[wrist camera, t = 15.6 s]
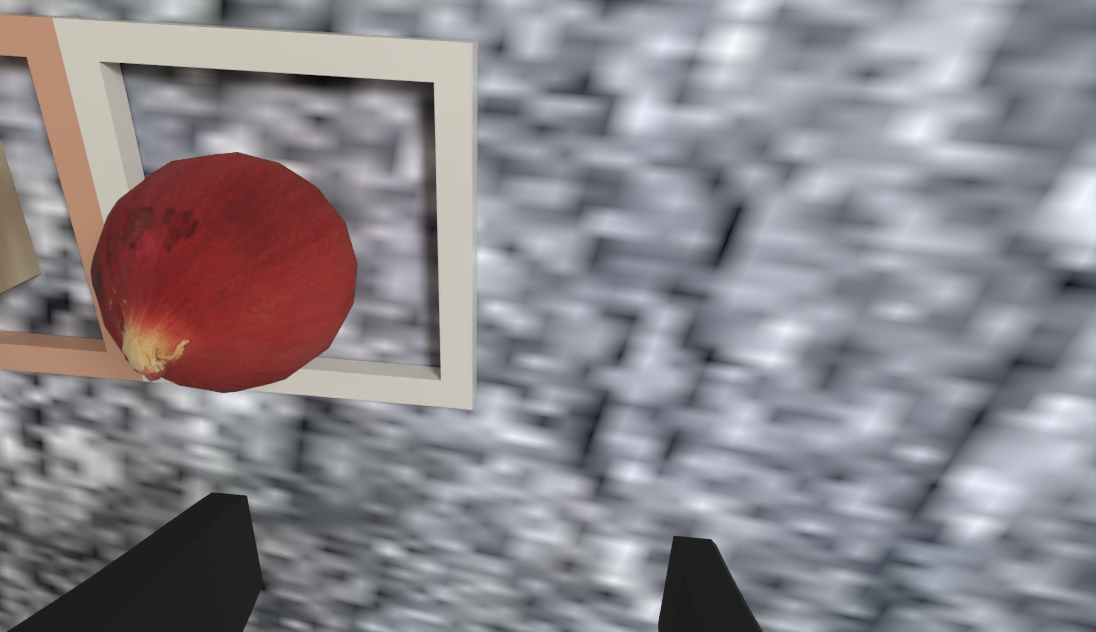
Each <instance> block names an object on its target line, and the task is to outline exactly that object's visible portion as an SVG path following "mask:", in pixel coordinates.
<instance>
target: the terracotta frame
mask: <svg viewBox="0 0 1096 632" xmlns="http://www.w3.org/2000/svg"><path fill="white" fill-rule="evenodd" d="M52 18H65V17H63V16H46V15H29V14H13V13H0V55H5V56H21V57H27V60H28V64H29V68H30V71H31V75H32V79H33V82H34V86H35V90H36V93H37V97H38V101H39V104H40V108H41V112H42V115H43V119H44V123H45V126H46V130H47V134H48V137H49V141H50V145H51V148H52V152H53V156H54V159H55V163H56V167H57V170H58V174H59V178H60V181H61V185H62V189H63V192H64V196H65V200H66V203H67V207H68V211H69V214H70V218H71V222H72V225H73V229H74V233H75V236H76V240H77V244H78V247H79V251H80V255H81V258H82V262H83V266H84V269H85V273H86V277H87V280H88V284H89V288H90V291H91V295H92V299H93V302H94V306H95V310H96V313H97V317H98V321H99V324H100V328H101V332H102V335H103V339H93V338H81V337H69V336H57V335H45V334H33V333H21V332H9V331H0V369H7V370H18V371H30V372H42V373H53V374H65V375H76V376H88V377H100V378H111V379H123V380H134V381H143V377H142V374H140V373H138V372H136V371H135V370H134V369H133V368H132V366H131V365H130V364H129V363H128V361H127V360H126V359H125V356H124V354H123V353H122V352H121V350H120V349H119V347H118V346H117V344H116V343H115V341H114V340H113V338H112V337H111V335H110V334H109V332H108V331H107V329H106V328H105V326H104V323H103V319H102V315H101V312H100V308H99V304H98V301H97V297H96V294H95V291H94V288H93V285H92V279H91V272H90V270H91V265H92V260H93V255H94V253H95V250H96V247H97V244H98V241H99V238H100V235H101V232H102V230H103V227H104V222H103V218H102V214H101V210H100V206H99V202H98V198H97V194H96V190H95V186H94V182H93V178H92V174H91V170H90V166H89V162H88V158H87V154H86V150H85V146H84V142H83V138H82V134H81V130H80V126H79V122H78V118H77V114H76V111H75V107H74V103H73V99H72V95H71V91H70V87H69V83H68V79H67V75H66V71H65V67H64V63H63V59H62V55H61V51H60V47H59V43H58V39H57V35H56V31H55V27H54V23H53V19H52Z"/></svg>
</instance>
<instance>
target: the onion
mask: <svg viewBox="0 0 1096 632" xmlns="http://www.w3.org/2000/svg"><path fill="white" fill-rule="evenodd" d="M90 272H91V279H92V285H93V288H94V291H95V294H96V297H97V301H98V304H99V308H100V312H101V315H102V319H103V323H104V326H105V328H106V329H107V331H108V332H109V334H110V335H111V337H112V338H113V340H114V341H115V343H116V344H117V346H118V347H119V349H120V350H121V352H122V353H123V354H124V356H125V359H126V360H127V361H128V363H129V364H130V365H131V366H132V368H133V369H134V370H135V371H136V372H138V373H140V374H142V375H144V376H145V377H146V378H147V379H148V380H149V381H150V382H151V381H155V380H159V379H160V378H164V379H166V380H168V381H170V382H173V383H175V384H177V385H180V386H186V387H192V388H198V389H204V390H210V391H215V392H220V393H228V392H237V391H241V390H246V389H250V388H255V387H259V386H264V385H268V384H272V383H275V382H279V381H282V380H285V379H287V378H288V377H289V376H291V375H292V374H294V373H295V372H296V371H298V370H299V369H301V368H302V367H303V366H305V365H306V364H308V363H309V362H310V361H312V360H313V359H315V358H316V357H317V356H319V355H320V354H321V353H323V352H324V351H326V350H327V349H328V348H329V347H330V345H331V343H332V342H333V340H334V338H335V336H336V335H337V333H338V331H339V329H340V328H341V326H342V324H343V322H344V321H345V319H346V317H347V315H348V313H349V311H350V309H351V307H352V305H353V303H354V295H355V285H356V274H357V261H356V257H355V254H354V250H353V247H352V243H351V240H350V237H349V233H348V230H347V226H346V223H345V221H344V220H343V219H342V218H341V216H340V215H339V214H338V213H337V211H336V210H335V209H334V208H333V207H332V205H331V204H330V203H329V202H328V200H327V199H326V198H325V197H324V195H323V194H322V192H321V191H320V190H319V189H318V188H317V187H316V186H314V185H313V184H311V183H310V182H308V181H307V180H305V179H304V178H302V177H301V176H299V175H297V174H296V173H294V172H293V171H291V170H290V169H288V168H286V167H285V166H283V165H282V164H280V163H277V162H273V161H270V160H266V159H262V158H258V157H254V156H250V155H246V154H242V153H239V152H234V153H224V154H215V155H208V156H202V157H195V158H189V159H182V160H175V161H171V162H169V163H168V164H166V165H165V166H163V167H161V168H160V169H158V170H157V171H155V172H153V173H152V174H151V175H149V176H148V177H147V178H146V179H144V180H143V181H142V182H140V183H139V184H138V185H136V186H135V187H134V188H133V189H131V190H130V191H129V192H127V193H126V194H125V195H124V196H122V197H121V198H120V199H118V200H117V202H116V203H115V205H114V207H113V208H112V210H111V211H110V213H109V214H108V216H107V218H106V221H105V224H104V227H103V230H102V232H101V235H100V238H99V241H98V244H97V247H96V250H95V253H94V255H93V260H92V265H91V270H90Z"/></svg>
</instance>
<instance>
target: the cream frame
mask: <svg viewBox="0 0 1096 632" xmlns="http://www.w3.org/2000/svg"><path fill="white" fill-rule="evenodd" d="M52 19H53V23H54V27H55V31H56V35H57V39H58V43H59V47H60V51H61V55H62V59H63V63H64V67H65V71H66V75H67V79H68V83H69V87H70V91H71V95H72V99H73V103H74V107H75V111H76V114H77V118H78V122H79V126H80V130H81V134H82V138H83V142H84V146H85V150H86V154H87V158H88V162H89V166H90V170H91V174H92V178H93V182H94V186H95V190H96V194H97V198H98V202H99V206H100V210H101V214H102V218H103V222H104V224H105V221H106V218H107V216H108V214H109V213H110V211H111V210H112V208H113V207H114V205H115V203H116V202H117V200H118V199H120V198H121V197H122V196H124V195H125V194H126V193H127V192H129V191H130V190H131V189H133V188H134V187H135V186H136V185H138V184H139V183H140V182H142V181H143V180H144V179H145V178H144V173H143V169H142V164H141V159H140V155H139V150H138V146H137V141H136V136H135V132H134V127H133V122H132V118H131V113H130V109H129V104H128V99H127V95H126V90H125V85H124V81H123V76H122V72H121V67H120V63H133V64H149V65H165V66H181V67H197V68H213V69H229V70H245V71H261V72H276V73H292V74H308V75H324V76H340V77H356V78H372V79H388V80H404V81H420V82H434V103H435V146H436V189H437V232H438V275H439V318H440V361H441V367H429V366H417V365H405V364H393V363H381V362H369V361H357V360H345V359H333V358H321V357H316V358H315V359H313V360H312V361H310V362H309V363H308V364H306V365H305V366H303V367H302V368H301V369H299V370H298V371H296V372H295V373H294V374H292V375H291V376H289V377H288V378H287V379H285V380H282V381H279V382H275V383H272V384H268V385H264V386H259V387H255V388H250V389H246V390H250V391H262V392H274V393H285V394H297V395H308V396H320V397H331V398H343V399H355V400H366V401H378V402H389V403H401V404H413V405H424V406H436V407H447V408H459V409H471V410H472V408H473V405H474V402H475V399H476V377H477V124H478V41H467V40H450V39H433V38H416V37H399V36H383V35H366V34H349V33H332V32H315V31H299V30H282V29H265V28H248V27H231V26H214V25H198V24H181V23H164V22H147V21H130V20H113V19H97V18H80V17H65V18H52ZM142 377H143V381H146V382H150V381H149V380H148V379H147V378H146V377H145V376H144V375H142ZM151 382H158V383H169V384H175V383H173V382H170V381H168V380H166V379H164V378H160V379H159V380H155V381H151Z"/></svg>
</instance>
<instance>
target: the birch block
mask: <svg viewBox="0 0 1096 632" xmlns="http://www.w3.org/2000/svg"><path fill="white" fill-rule="evenodd" d="M39 274H41V270H40V267H39V264H38V260H37V257H36V254H35V251H34V247H33V244H32V241H31V238H30V234H29V231H28V228H27V225H26V222H25V218H24V215H23V212H22V209H21V205H20V202H19V199H18V196H17V192H16V189H15V186H14V183H13V179H12V176H11V173H10V170H9V166H8V163H7V160H6V157H5V153H4V150H3V147H2V144H1V140H0V293H2V292H4V291H6V290H8V289H10V288H12V287H14V286H16V285H18V284H20V283H22V282H24V281H26V280H28V279H30V278H32V277H34V276H36V275H39Z"/></svg>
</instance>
